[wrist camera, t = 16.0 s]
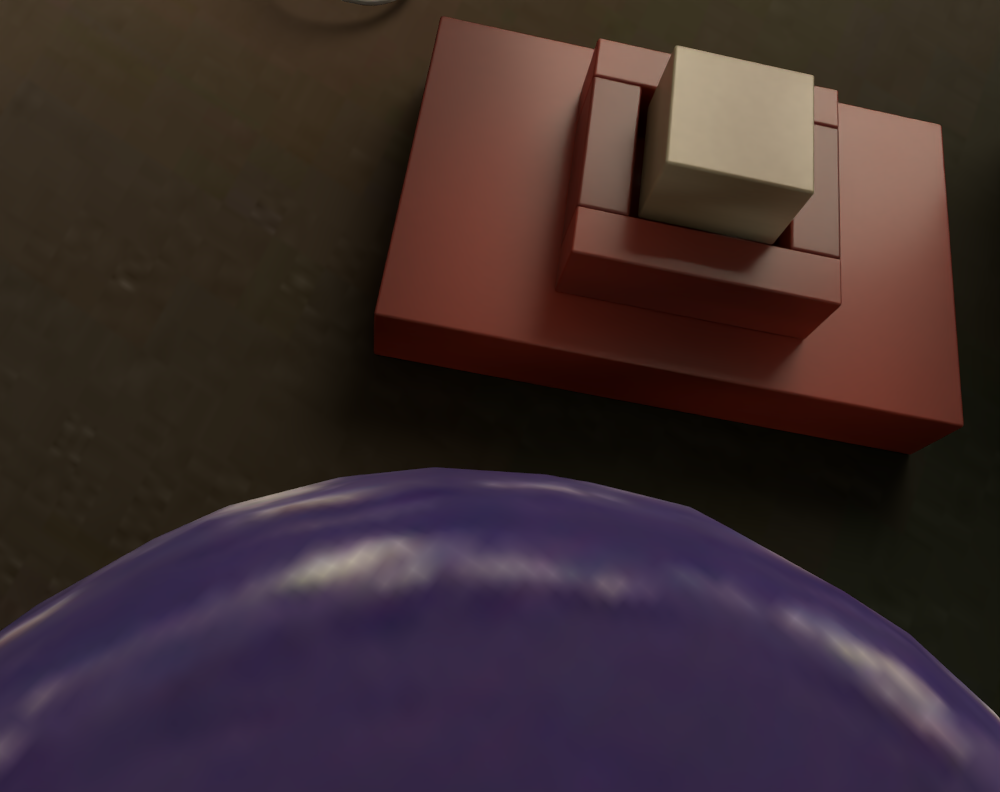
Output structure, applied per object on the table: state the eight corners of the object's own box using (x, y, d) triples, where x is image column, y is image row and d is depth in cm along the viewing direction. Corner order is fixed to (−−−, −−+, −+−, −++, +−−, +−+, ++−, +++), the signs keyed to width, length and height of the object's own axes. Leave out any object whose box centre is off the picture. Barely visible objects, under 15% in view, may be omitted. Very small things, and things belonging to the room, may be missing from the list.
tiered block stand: (373, 354, 21) (373, 274, 18) (435, 74, 25) (446, -43, 21) (910, 455, 22) (1017, 398, 19) (897, 172, 26) (985, 77, 22)
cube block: (636, 218, 19) (665, 162, 18) (647, 107, 21) (674, 43, 19) (772, 245, 20) (815, 193, 18) (774, 134, 21) (815, 74, 19)
